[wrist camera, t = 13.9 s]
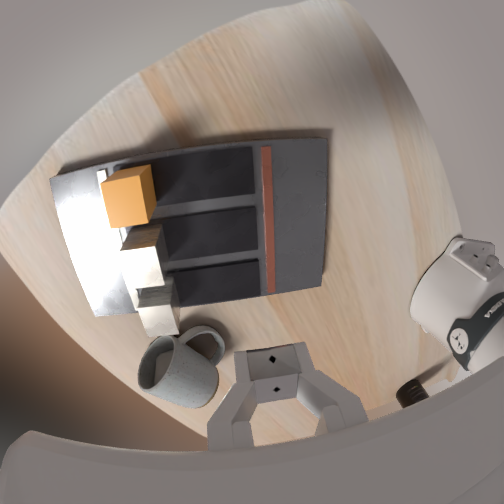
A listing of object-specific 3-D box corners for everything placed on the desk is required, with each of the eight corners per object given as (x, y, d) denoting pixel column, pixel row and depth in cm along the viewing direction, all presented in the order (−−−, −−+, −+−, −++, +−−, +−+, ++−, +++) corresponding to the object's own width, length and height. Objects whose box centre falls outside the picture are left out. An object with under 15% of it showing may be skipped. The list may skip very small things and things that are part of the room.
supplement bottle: (413, 389, 56) (435, 423, 45) (392, 400, 55) (412, 436, 45) (421, 374, 52) (445, 410, 42) (398, 385, 52) (422, 424, 41)
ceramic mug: (185, 378, 37) (187, 422, 30) (139, 352, 33) (133, 399, 26) (238, 340, 35) (249, 387, 28) (190, 307, 31) (192, 356, 25)
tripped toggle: (150, 164, 21) (139, 175, 17) (156, 203, 23) (148, 223, 19) (117, 170, 21) (99, 183, 17) (124, 209, 22) (110, 229, 18)
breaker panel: (320, 137, 25) (353, 145, 19) (316, 278, 32) (338, 312, 27) (56, 175, 21) (22, 194, 16) (98, 307, 29) (84, 346, 23)
